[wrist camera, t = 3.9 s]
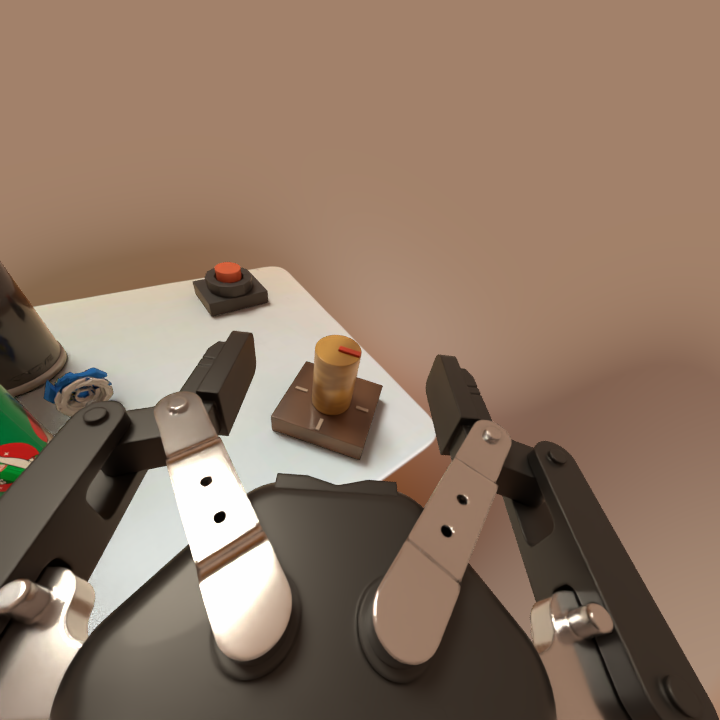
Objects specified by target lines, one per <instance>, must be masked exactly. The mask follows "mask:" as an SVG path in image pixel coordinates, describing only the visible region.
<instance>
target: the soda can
mask: <svg viewBox="0 0 720 720" xmlns="http://www.w3.org/2000/svg"><path fill="white" fill-rule="evenodd" d="M53 437H54V436H53V435H52V434H51V433H50V432H49V431H48V430H47V429H46V428H45V427H44V426H43V425H42V424H41V423H40V422H39V421H38V420H37V419H36V418H35V417H34V416H33V415H32V414H31V413H30V412H28V411H27V410H26V409H25V408H24V407H23V406H22V405H21V404H20V403H19V402H18V401H17V400H16V399H15V398H14V397H13V396H12V395H11V394H10V393H9V392H8V391H7V390H6V389H5V388H4V387H3V386H2V385H1V384H0V497H1V496H2V495H3V494H4V492H5V491H6V490H7V489H8V488H9V487H10V486H11V485H12V483H13V482H14V481H15V480H16V479H17V478H18V477H19V476H20V474H21V473H22V472H23V471H24V470H25V469H26V468H27V467H28V465H29V464H30V463H31V462H32V461H33V460H34V459H35V457H36V456H37V455H38V454H39V453H40V452H41V451H42V450H43V448H44V447H45V446H46V445H47V444H48V443H49V442H50V441H51V439H52V438H53Z"/></svg>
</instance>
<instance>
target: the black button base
mask: <svg viewBox="0 0 720 720" xmlns="http://www.w3.org/2000/svg"><path fill="white" fill-rule="evenodd" d="M240 268H241V267H240ZM241 276H242V279H241V280H240V281H238V282H233V283H223V282H220V281H218V280H217V278H216V273H215V268H213V269H211V270H210V271H207V273H206V276H205V279H203V280H198V281H193V285H194V289H195V293H196V295H197V296H198V297H199V299H200V300H201V302H202V303H203V305H204V306H205V308H206V309H207V310H208V312H209V313H210V315H211V316H216V315H220V314H224V313H228V312H232V311H236V310H239V309H243V308H247V307H251V306H255V305H259V304H263V303H267V302H268V293H267V290H266V289H265V288H264V287H263V286H262V285H261V284H260V283H259V281H258V280H257V279H256V278H255V277H254V276H253V275H252V274H251V273H250V272H249V271H248V270H247V269H244V268H241Z"/></svg>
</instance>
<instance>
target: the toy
mask: <svg viewBox="0 0 720 720" xmlns="http://www.w3.org/2000/svg"><path fill="white" fill-rule="evenodd" d="M85 377H90V378H92V379H90V378H85ZM103 377H107V373H106V372H103V371H101V370H99V369H96V368H90V369H88V370H86V371H85V372H81V373H76V374H73V373H71V372H69V373H67V374H65V376H62V377H61V378H60V379H59V378H57V383H56V382H55V383H54V386H55V387H54V386H53V385H52V384H51V383H50V382H49V381H48V380H47V381H46V387H45V393H44V399H46V400H47V401H49V402H51V403H53V404H55V405H56V409H57V410H58V411H59V412H61V413H63V414H65V415H67V416H71V417H72V416H73V415H74V414H75V413H76V412H77V411H79V410H80V409H82V408H84V407H86V406H88V405H90V404H93V403H96V402H101V401H108V400H109V399H110V398H111V396H112V395H113V388H112V386H110V385H112V384H111V383H110V382H109V381H108V380H107V379H105V378H103Z"/></svg>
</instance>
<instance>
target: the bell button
mask: <svg viewBox="0 0 720 720" xmlns="http://www.w3.org/2000/svg"><path fill="white" fill-rule="evenodd" d="M215 273H216V278H217V280H218V281H220V282H223V283H233V282H238V281H240V280H241V279H242V276H241V268H240V266H239V265H238V264H235V263H231V262H225V263H220V264H217V265H216V266H215Z"/></svg>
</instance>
